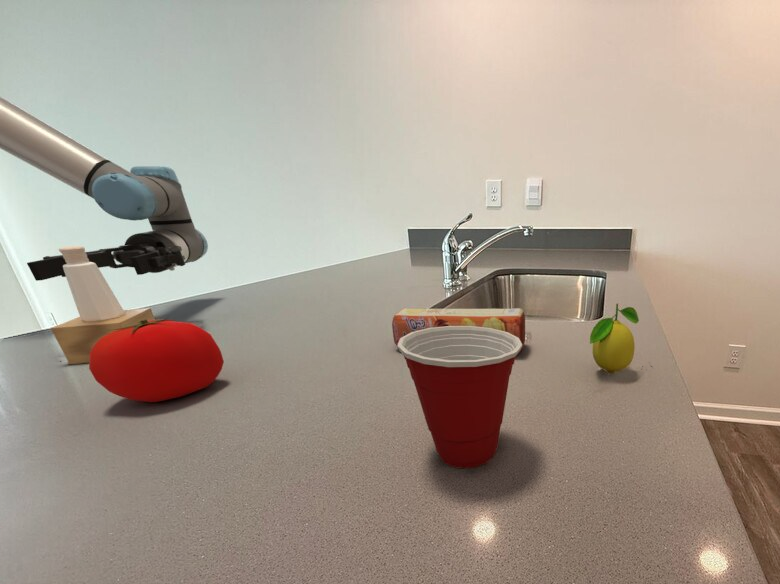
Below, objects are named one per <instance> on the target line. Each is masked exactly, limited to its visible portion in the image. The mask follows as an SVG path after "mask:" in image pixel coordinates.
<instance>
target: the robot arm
mask: <svg viewBox="0 0 780 584" xmlns="http://www.w3.org/2000/svg"><path fill="white" fill-rule="evenodd" d="M0 149H1V150H3V151H4V152H6V153H8V154H10V155H11V156H13V157H15V158H17V159H19V160H20V161H23V162H25V163H27V164H28V165H30V166H32V167H34V168H36V169H38V170H40V171H41V172H43V173H45V174H47V175H49V176H50V177H53V178H55V179H56V180H58V181H60V182H62V183H63V184H66V185H68V186H70V187H71V188H73V189H75V190H77V191H79V192H81V193H82V194H84V195H86V196H88V197H90V198H92V199H93V200H94V201H95V203H96V204H97V205H98V206H99V207H100V208H101V209H102V210H103V211H104V212H105V213H106V214H108V215H110V216H112V217H114V218H116V219H120V220H125V221H126V220H127V221H144V220H148V223H149V225H150V227H151V229H152V230H149V231H145V232H139V233H134V234H132V235H130V236H129V237H127V239H126V240H125V242H124V244H123V245H122V244H121V245H119V246H117V247H108V248H100V249H97V250H89V251H85V253H86V254H87V258H88V259H89V262H93V263H95V264H96V265H97V267H98V268H99V269H100V268H107V267H109V268H111V269H122V268H133V269H134V270H135V273H136V275H137V276H140V275H146V274H149V273H151V274H158V273H162V272H166V271H168V270H169V271H171V272H172V271H175V268H176V267H184V266H185V265H186V264H188V263H195V262H197V261H198V260H200V259H201V258H202V257H204V256H205V255H206V254H207V252H208V249H209V245H208V240H207V238H206V237H205V235H204V234H203V233H202V232H201V231H200V230H199V229H196V227H195V224H194V222H193V219H192V216H191V214H190V211H189V207H188V205H187V202H186V198H185V196H184V195H185V194H184V193H183V192H184V191H183V190H182V188H183V187H182V184H181V183H180V181H179V178H178V176H177V173H176V172H175V170H174V169H173V168H171V167H169V166H160V165H159V166H158V165H155V166H153V165H152V166H151V165H146V166H145V165H143V166H142V165H138V166H132V167H131V168H130V171H129V170H127V169H126V168H123V167H122V166H119V164H116V163H114V162H113V161H112V160H110V159H108V158H107V157H105V156H103V155H102V154H99V153H98V152H96V151H95V150H93V149H91V148H89V147H88V146H86V145H84V144H82V143H81V142H79V141H78V140H76V139H74V138H72V137H71V136H69V135H67V134H65V133H64V132H63V131H60V130H59V129H57V128H55V127H54V126H52V125H50V124H48V123H47V122H45V121H44V120H42V119H40V118H39V117H36V116H35V115H33V114H32V113H30V112H28V111H26V110H25V109H23V108H22V107H20V106H18V105H16V104H15V103H13V102H11V101H9V99H6V98H4V97H3V96H1V95H0ZM116 262H117V263H116ZM26 264H27V265H26V266H27V267H28V268H29V270H30V272H31V274H32V276H33V278H34V280H35V281H37V282H39V281H44V280H49V279H54V278H57V277H62V278H66V275H65V272H64V269H63V265H65V264H67V263H66V262H65V259H64V257H63V256H62V254H60V255H51V256H50V255H46V256H43V257H42V259H40V260H35V261H29V262H26Z"/></svg>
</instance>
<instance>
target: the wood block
mask: <svg viewBox="0 0 780 584" xmlns="http://www.w3.org/2000/svg"><path fill="white" fill-rule="evenodd" d="M123 310H124V312H125V315H122V316H120V317H118V318H114V319H109V320H104V321H94V322H85V321H83V320H81V318H80V316H77V317H75V318H73V319H70V320H68V321H65V322H62V323H60V324H57V325H55V326H52V327H50V330H51V332H52V334H53V335H54V337H55V340H56V341H57V344H58V345H59V347H60V349H61V351H62V352H63V354H64V356H65V359H66V360H67V362H68V363H69V365H79V364H89V362H90V351H91V350H92V348H93V347H94V345H95V343H96V342H97V341H98V340H99V339H100V338H102V337H104V336H106V335H108V334H110V333H112V332H114V331H116V330H113V329H119V328H124V327H129V326H133V325H137V324H139V323H138V322H140V321H141V320H147V321H151V320H156V319H155V316H154V313H153V310H152V309H151V308H150V307H147V308H134V309H123ZM107 330H111V331H107Z"/></svg>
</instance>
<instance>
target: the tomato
mask: <svg viewBox="0 0 780 584" xmlns="http://www.w3.org/2000/svg"><path fill="white" fill-rule="evenodd" d="M138 323H139V324H137V325H133V326H129V327H124V328H119V329H113V330H116V331H114V332H112V333H110V334H108V335H106V336H104V337H102V338H100V339H99V340H98V341H97V342H96V343H95V345H94V347H93V348H92V350H91V351H90V362H89V363H88V364H89V367H88V369H89V371H90V373H91V374H92V377H93V378H94V380H95V381H96V382H97V383H98V384H99V385H100V386H101V387H103V388H104V389H105V390H106V391H108V392H109V393H110V394H114V395H116V396H118V397H121V398H124V399H127V400H130V401H134V402H145V403H146V402H147V403H156V402H157V403H158V402H163V401H168V400H173V399H178V398H182V397H184V396H187V395H189V394H192V393H195V392H197V391H200V390H203V389H205V388H207V387H209V386H210V385H211V384H212V383H213V382H214V381H215V380H216V379H217V378H218V377H219V375H220V373H221V372H222V370H223V366H224V363H225V362H224V358H223V355H222V354H223V353H222V351H221V348H220V347H219V346H218V344H217V342H216V341H215V339H214V338H213V336H212V334H211V333H210V332H208V331H206V330H205V329H203V328H202V327H200V326H198V325H196V324H194V323H192V322H184V321H183V322H182V321H176V319H174V320H171V319H169V317H167V319H166V318H164V319H163V318H162V319H160V318H159V319H155V320H151V321H147V320H141V321H140V322H138ZM107 331H111V330H107Z"/></svg>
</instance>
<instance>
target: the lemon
mask: <svg viewBox="0 0 780 584" xmlns="http://www.w3.org/2000/svg"><path fill="white" fill-rule="evenodd" d="M619 312H620V313H621V315H622V316H623V317H625V318H626V319H627V320H628V321H630V322H631V323H633V324H638V323H639V322H640V319H639V316H638V312H637V311H636V309H635V308H634V307H631V306H626V307H624V308H622V309H619V303H616V305H615V313H614V315H613V316H612V317H605V318H602V319H600V320H599V321H598V322H597V323H596V324H595V325H594V326H593V328H592V331H591V333H590V336H589V344H590V345H591V344H592V356H593V360H594V362H595V364H596V365H597V366H598V367H599V368H600V369H601V370H604V371H606V372H607V373H608V375H612V374H614V373H616V372H621V371H623V370H625V369H627V368H628V367H629V366H630V365H631V363H632V361H633V359H634V356H635V348H636V347H635V339H634V335H633V333H632V331H631V329H630V328H629V327H628V326H627V325H626V324H624V323H623V322H620V321H619V320H618V315H619ZM614 318H615V319H614Z"/></svg>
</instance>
